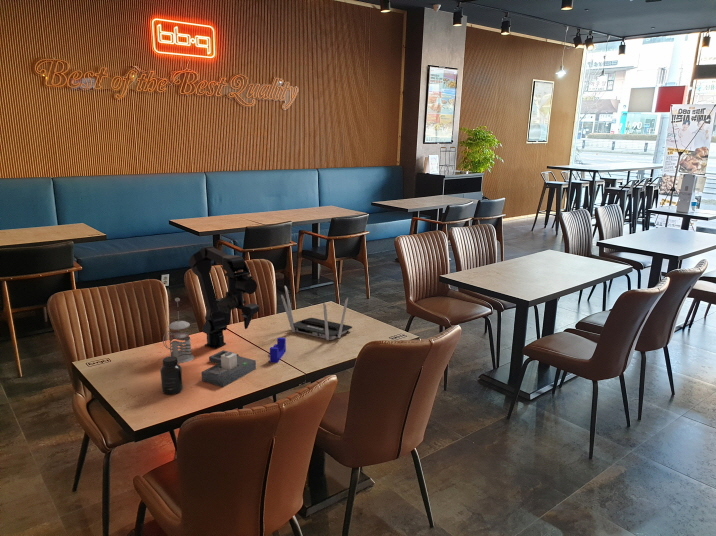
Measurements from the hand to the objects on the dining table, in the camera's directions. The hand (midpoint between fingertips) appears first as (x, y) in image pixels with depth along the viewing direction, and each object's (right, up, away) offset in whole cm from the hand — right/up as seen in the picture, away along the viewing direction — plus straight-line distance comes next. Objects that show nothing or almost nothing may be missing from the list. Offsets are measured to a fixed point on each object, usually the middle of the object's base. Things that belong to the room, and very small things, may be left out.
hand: (237, 326), depth 219 cm
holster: (-5, -13, -1) cm, 14 cm away
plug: (0, -16, -14) cm, 21 cm away
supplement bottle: (-16, -20, -27) cm, 37 cm away
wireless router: (+30, -6, +29) cm, 42 cm away
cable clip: (+15, -13, +4) cm, 20 cm away
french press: (-23, -13, 0) cm, 26 cm away
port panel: (0, -16, -14) cm, 22 cm away
